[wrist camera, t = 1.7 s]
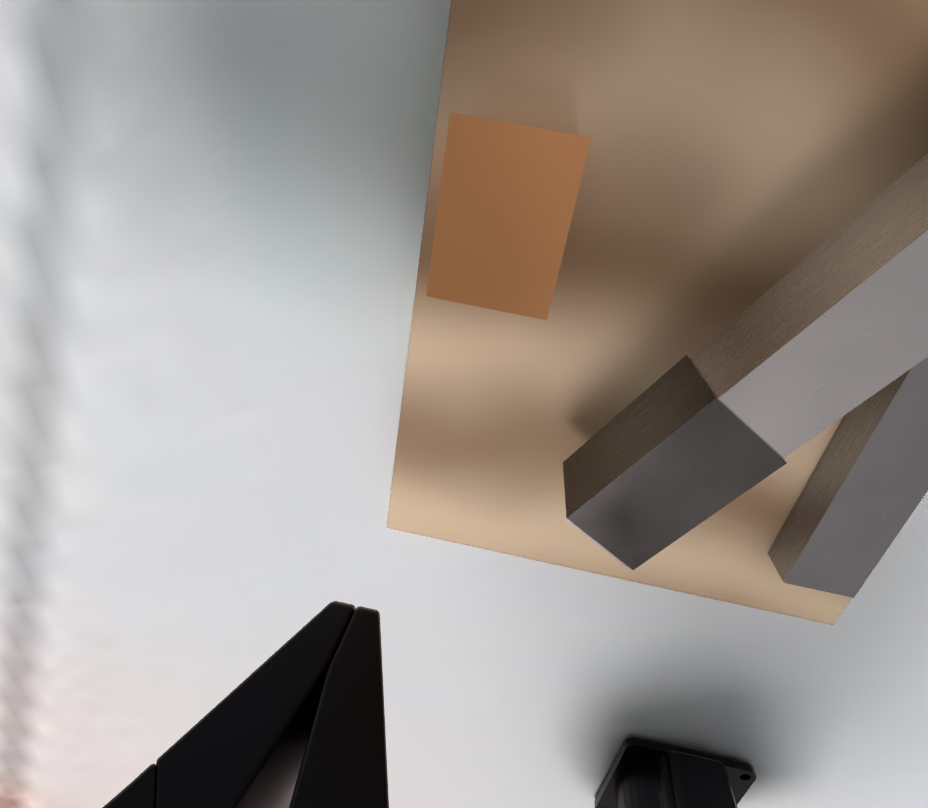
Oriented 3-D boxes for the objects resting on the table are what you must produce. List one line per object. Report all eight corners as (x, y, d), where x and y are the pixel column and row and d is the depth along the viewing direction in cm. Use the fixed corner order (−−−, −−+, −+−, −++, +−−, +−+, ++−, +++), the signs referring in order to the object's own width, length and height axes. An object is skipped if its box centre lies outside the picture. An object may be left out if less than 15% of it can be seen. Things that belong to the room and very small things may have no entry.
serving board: (819, 601, 22) (833, 625, 21) (393, 509, 23) (386, 527, 22) (1270, -92, 12) (1342, -115, 11) (486, -214, 13) (481, -247, 12)
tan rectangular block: (545, 281, 16) (547, 320, 13) (450, 262, 17) (425, 296, 13) (579, 138, 15) (591, 137, 11) (472, 118, 15) (450, 111, 11)
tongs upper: (1120, -23, 11) (1301, -74, 8) (1186, 72, 11) (1377, 51, 9) (560, 463, 17) (564, 520, 15) (617, 510, 18) (630, 572, 15)
